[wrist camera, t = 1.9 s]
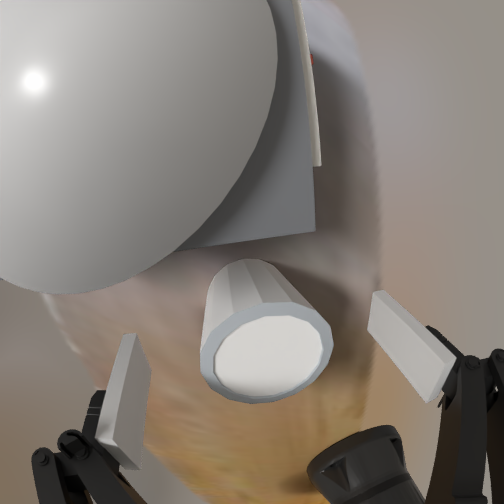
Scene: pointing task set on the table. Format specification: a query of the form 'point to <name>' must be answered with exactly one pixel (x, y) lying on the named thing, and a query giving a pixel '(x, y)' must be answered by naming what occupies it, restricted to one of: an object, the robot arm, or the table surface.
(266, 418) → the table surface
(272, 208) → the dial scale
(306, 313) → the shot glass
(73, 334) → the table surface
